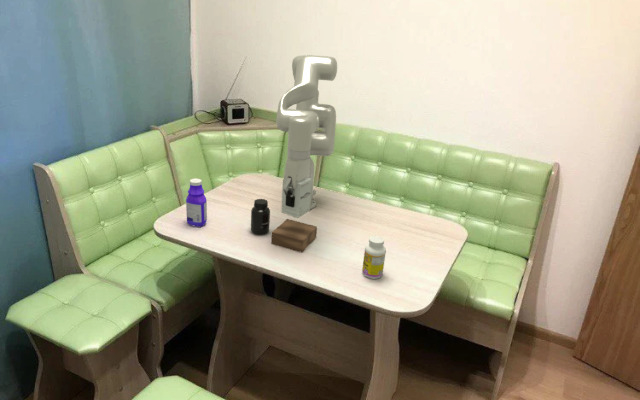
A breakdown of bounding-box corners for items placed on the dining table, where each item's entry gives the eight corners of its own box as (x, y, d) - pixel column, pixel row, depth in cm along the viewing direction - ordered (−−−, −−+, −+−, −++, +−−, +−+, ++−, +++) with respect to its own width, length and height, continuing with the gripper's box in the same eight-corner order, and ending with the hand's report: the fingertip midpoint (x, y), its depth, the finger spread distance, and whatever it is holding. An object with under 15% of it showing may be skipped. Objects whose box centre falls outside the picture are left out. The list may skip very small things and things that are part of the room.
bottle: (209, 222, 184) (208, 179, 177) (202, 228, 179) (200, 184, 172) (192, 218, 185) (190, 175, 178) (184, 225, 180) (182, 181, 173)
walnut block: (286, 230, 183) (287, 218, 181) (316, 238, 179) (317, 226, 177) (271, 244, 172) (271, 232, 170) (302, 253, 168) (302, 240, 166)
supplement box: (298, 219, 166) (300, 184, 161) (280, 212, 169) (282, 178, 164) (310, 211, 172) (312, 178, 167) (293, 206, 175) (294, 172, 170)
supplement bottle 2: (360, 268, 162) (364, 233, 156) (380, 268, 162) (385, 234, 157) (363, 279, 156) (368, 244, 150) (384, 280, 156) (389, 244, 151)
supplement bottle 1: (266, 236, 177) (267, 206, 172) (248, 233, 178) (248, 203, 173) (271, 228, 183) (272, 199, 178) (254, 225, 184) (254, 196, 179)
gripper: (302, 145, 171) (299, 191, 178) (274, 157, 156) (273, 208, 163) (321, 149, 167) (317, 197, 175) (294, 162, 153) (292, 213, 160)
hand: (296, 202), depth 169 cm, fingers closed on supplement box, 7 cm apart
